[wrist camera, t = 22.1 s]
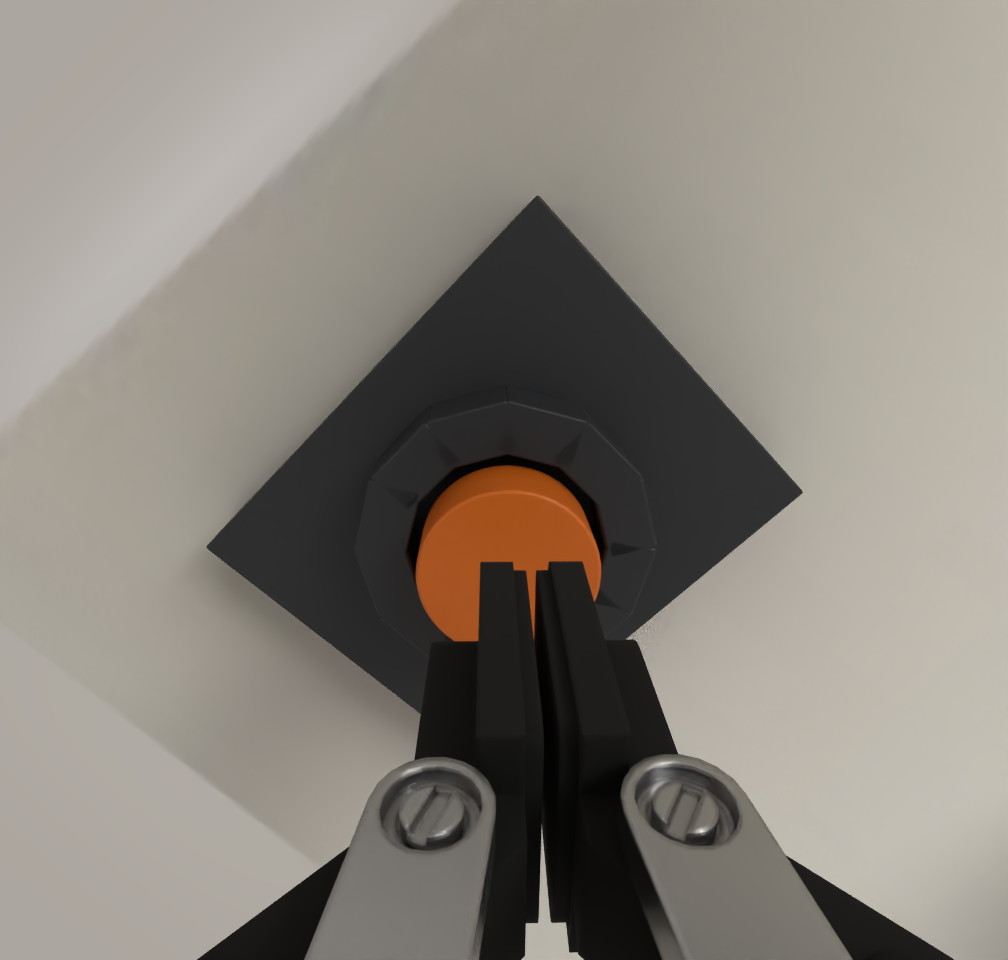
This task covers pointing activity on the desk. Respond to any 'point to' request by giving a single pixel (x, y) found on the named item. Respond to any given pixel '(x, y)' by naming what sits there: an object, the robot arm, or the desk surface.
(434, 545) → the timer button
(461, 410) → the black flat block
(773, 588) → the desk surface
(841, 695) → the desk surface
